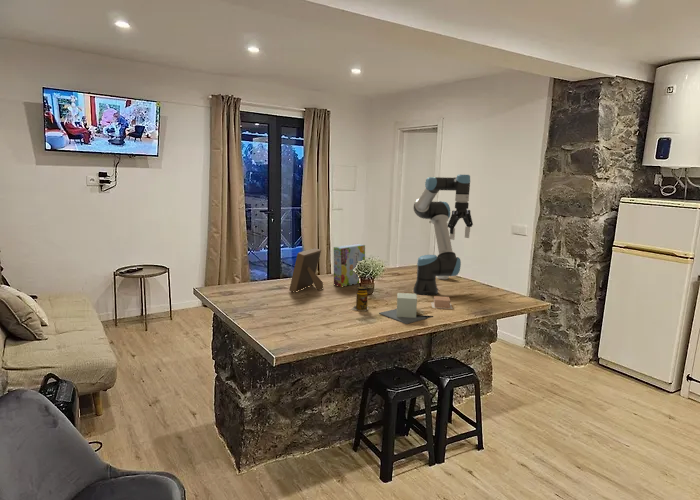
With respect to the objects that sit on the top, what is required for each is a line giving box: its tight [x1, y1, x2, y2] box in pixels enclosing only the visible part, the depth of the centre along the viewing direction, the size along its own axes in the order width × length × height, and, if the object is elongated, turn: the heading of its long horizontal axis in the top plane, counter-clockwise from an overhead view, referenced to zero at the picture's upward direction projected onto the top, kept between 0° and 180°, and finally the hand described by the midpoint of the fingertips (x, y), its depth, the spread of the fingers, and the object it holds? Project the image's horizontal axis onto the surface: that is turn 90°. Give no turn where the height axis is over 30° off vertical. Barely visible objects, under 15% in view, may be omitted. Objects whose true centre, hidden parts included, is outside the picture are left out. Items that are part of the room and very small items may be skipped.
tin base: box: [430, 295, 454, 310], centre depth 257 cm, size 11×11×6 cm
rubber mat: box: [378, 308, 434, 325], centre depth 242 cm, size 20×20×1 cm
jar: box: [436, 276, 450, 280], centre depth 329 cm, size 9×8×12 cm
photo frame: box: [288, 247, 324, 293], centre depth 287 cm, size 15×22×25 cm
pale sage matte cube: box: [396, 292, 418, 318], centre depth 241 cm, size 10×10×10 cm
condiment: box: [350, 286, 370, 312], centre depth 252 cm, size 7×8×12 cm
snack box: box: [333, 243, 366, 288], centre depth 305 cm, size 22×9×26 cm, turn 133°
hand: (459, 238), depth 268 cm, fingers open, 13 cm apart
